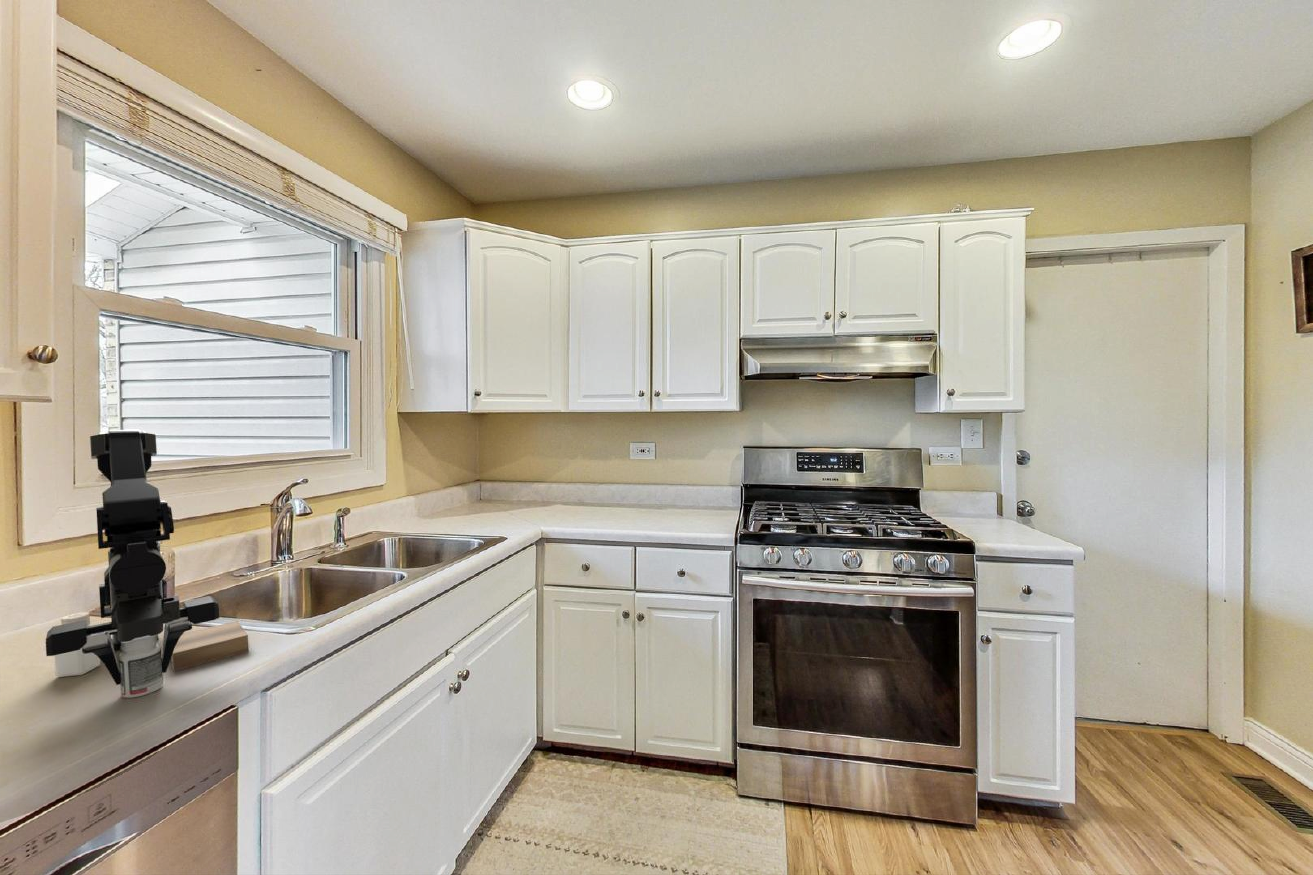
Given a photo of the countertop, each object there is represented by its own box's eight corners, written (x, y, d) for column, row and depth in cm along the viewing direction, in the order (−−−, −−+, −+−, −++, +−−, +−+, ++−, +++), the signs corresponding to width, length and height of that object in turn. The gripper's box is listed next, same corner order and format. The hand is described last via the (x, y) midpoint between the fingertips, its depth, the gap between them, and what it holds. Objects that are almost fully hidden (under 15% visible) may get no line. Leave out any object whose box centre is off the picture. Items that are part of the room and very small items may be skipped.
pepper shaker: (102, 665, 92) (99, 610, 92) (83, 675, 88) (79, 618, 88) (74, 667, 91) (71, 612, 91) (53, 678, 87) (50, 621, 87)
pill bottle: (171, 682, 85) (168, 630, 85) (144, 698, 81) (141, 643, 80) (140, 683, 85) (137, 631, 85) (111, 699, 81) (108, 644, 80)
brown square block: (168, 653, 96) (167, 636, 96) (238, 636, 103) (237, 620, 103) (174, 671, 89) (173, 653, 89) (248, 651, 96) (247, 634, 96)
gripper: (39, 606, 70) (47, 723, 71) (222, 574, 83) (227, 672, 84) (45, 588, 78) (52, 694, 78) (211, 561, 91) (216, 652, 92)
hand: (141, 677), depth 83 cm, fingers closed on pill bottle, 5 cm apart
